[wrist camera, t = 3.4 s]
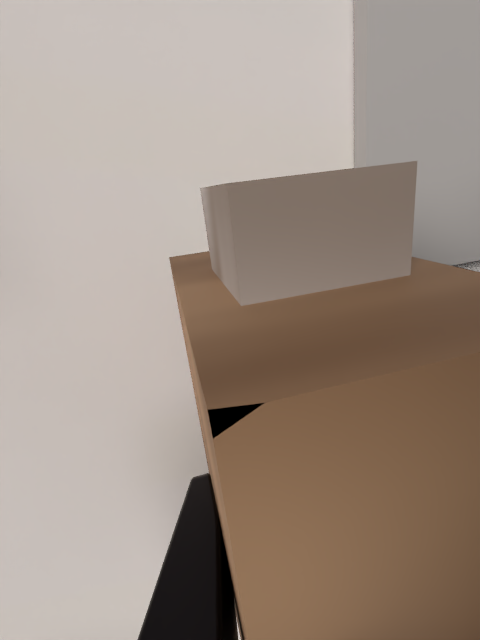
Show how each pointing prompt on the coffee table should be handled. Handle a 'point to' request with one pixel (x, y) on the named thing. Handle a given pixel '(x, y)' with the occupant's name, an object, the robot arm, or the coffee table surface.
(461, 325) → the brown rectangular block
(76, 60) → the coffee table surface
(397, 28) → the pad
